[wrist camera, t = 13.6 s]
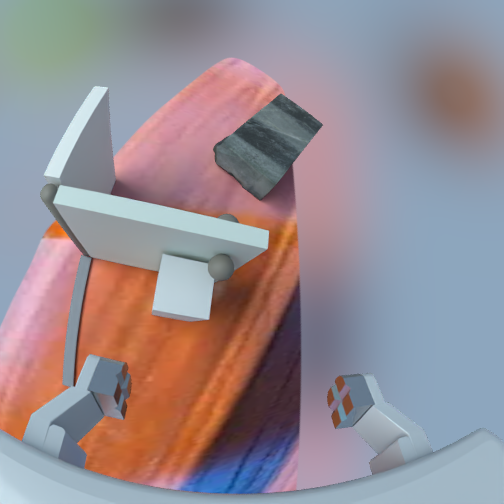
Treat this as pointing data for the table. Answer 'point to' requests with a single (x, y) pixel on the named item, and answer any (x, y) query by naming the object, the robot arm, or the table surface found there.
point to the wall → (83, 177)
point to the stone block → (266, 145)
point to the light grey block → (183, 289)
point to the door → (151, 231)
